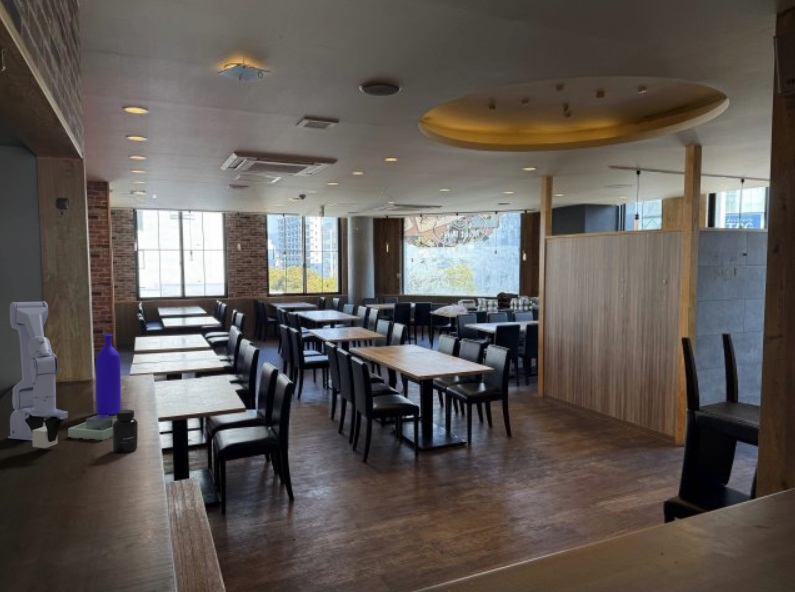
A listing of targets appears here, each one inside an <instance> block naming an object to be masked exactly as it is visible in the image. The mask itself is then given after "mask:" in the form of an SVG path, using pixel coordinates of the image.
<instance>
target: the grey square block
mask: <svg viewBox="0 0 795 592" xmlns="http://www.w3.org/2000/svg"><path fill="white" fill-rule="evenodd" d="M112 419H113V415H110V416H107V415H98V414H96V415H94V416H91V417H87V418H86V419H85V422H86V430H97V431H104V430H106V429H109V428H112Z"/></svg>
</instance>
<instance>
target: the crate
mask: <svg viewBox="0 0 795 592" xmlns="http://www.w3.org/2000/svg"><path fill="white" fill-rule="evenodd" d="M116 420H117V419H114V418H112V428H109V429H106V430H104V431H97V430H86V421H85V422H83V423H80V424H78V425H77V424H76V425H74V426H71V427H69V428H68V430H67V431H68V432H67V435H68V436H67V437H71V438H70V439H79V438H83V439H82V440H89V439H96V440H95V441H100V440H104V441H106V440H108V439H110V437H111V438H113V423H114V422H115V421H116ZM105 439H106V440H105Z"/></svg>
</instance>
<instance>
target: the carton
mask: <svg viewBox="0 0 795 592" xmlns="http://www.w3.org/2000/svg"><path fill="white" fill-rule="evenodd" d="M32 435H33V440H32V448H41V449H47V448H49V447H52V446H54V445H57V444H58V436H57V437H56V440H55V441H52V442H49V441H48V434H47V428H46V425H45V426H44V427H41V428H38V429H35V430H32Z"/></svg>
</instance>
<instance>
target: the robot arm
mask: <svg viewBox="0 0 795 592" xmlns="http://www.w3.org/2000/svg"><path fill="white" fill-rule="evenodd" d="M48 317H49V306H48V302H46V301H45V300H43V301H20V302H19V301H17V302H16V301H12V302H11V303H10V304H9V322H10V326H11V327H10V328H12V329H14V330H16V331H17V334H18V338H19V351H20V365H21V366H20V367H21V380H20V381H18V383H16V384H15V385H14V386H13V388H12V396H11V397H12V399H11V400H12V401H11V403H12V404H11V405H12V408H13V409H14V410H13V412H11V414H10V417H9V429H10V430H9V431H10V433H9V434H10V435H9V436H7V438H8V439H14V440H24V441H25V440H26V441H33V435H32V430H35V429H38V428H41V427H44V426H46V428H47V434H48V441H49V442H52V441H55V440H56V437H57V438H58V432H59V430H60V428H61V426H62V424H63V422H64V421H65V419H68V416H69V412H68V410H67V411H66V410H62V409H60V408H59V409H58V408H57V402H56V401H57V396H56V395H57V392H56V390H57V388H56V387H57V384H56V381H57V380H56V379H57V378H56V375H57V374H58V372H59V361H58V357H57V355H56V354H55V353H54V352H53V350H52V346H51V342H50V339H49V338H48V337H45V334H44V326H45V324H46V322H47V320H48V319H47V318H48ZM46 418H47V419H46Z"/></svg>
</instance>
